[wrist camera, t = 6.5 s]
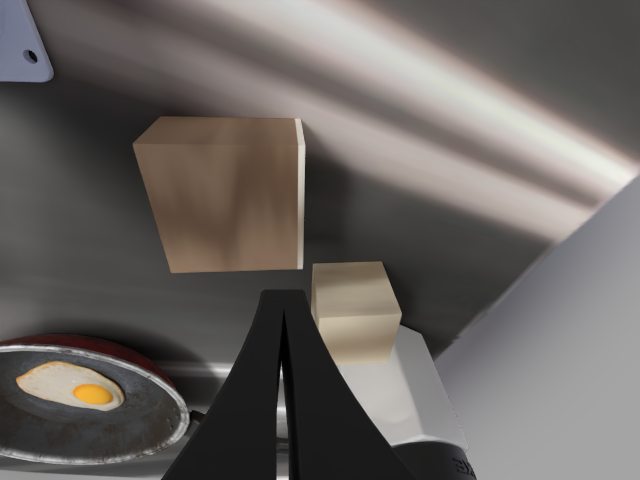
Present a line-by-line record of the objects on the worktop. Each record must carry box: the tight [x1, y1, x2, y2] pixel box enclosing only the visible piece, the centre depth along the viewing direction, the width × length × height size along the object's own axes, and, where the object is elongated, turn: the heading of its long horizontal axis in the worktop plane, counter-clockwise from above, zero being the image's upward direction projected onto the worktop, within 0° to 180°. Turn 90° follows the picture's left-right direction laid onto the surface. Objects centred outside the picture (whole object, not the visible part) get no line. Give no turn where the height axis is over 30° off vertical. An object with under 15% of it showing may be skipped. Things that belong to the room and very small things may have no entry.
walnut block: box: [132, 116, 305, 273], centre depth 17 cm, size 7×4×7 cm
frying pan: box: [0, 334, 289, 465], centre depth 29 cm, size 19×32×4 cm, turn 61°
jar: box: [337, 324, 477, 480], centre depth 25 cm, size 9×8×12 cm
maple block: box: [311, 261, 402, 366], centre depth 23 cm, size 5×5×5 cm
